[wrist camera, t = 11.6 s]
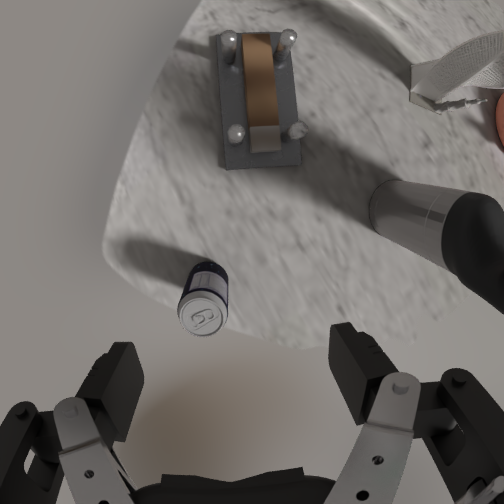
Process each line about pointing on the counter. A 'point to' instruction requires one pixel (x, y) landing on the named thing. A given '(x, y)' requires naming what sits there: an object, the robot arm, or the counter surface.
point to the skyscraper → (459, 73)
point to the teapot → (500, 118)
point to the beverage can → (204, 300)
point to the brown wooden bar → (260, 93)
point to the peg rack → (236, 103)
